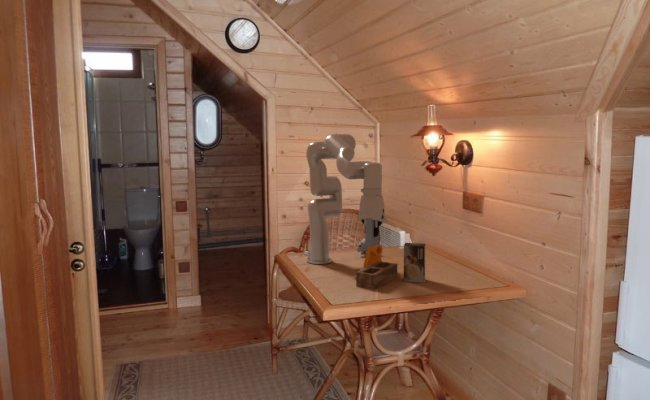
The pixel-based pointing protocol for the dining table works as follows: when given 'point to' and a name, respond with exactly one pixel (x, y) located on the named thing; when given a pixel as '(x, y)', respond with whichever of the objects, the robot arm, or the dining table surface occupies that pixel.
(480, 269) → the dining table surface
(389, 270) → the wooden compartment box
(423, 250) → the coffee box
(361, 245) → the round bodied animal figurine
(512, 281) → the dining table surface
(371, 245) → the blue gray rectangular block
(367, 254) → the orange irregular piece
